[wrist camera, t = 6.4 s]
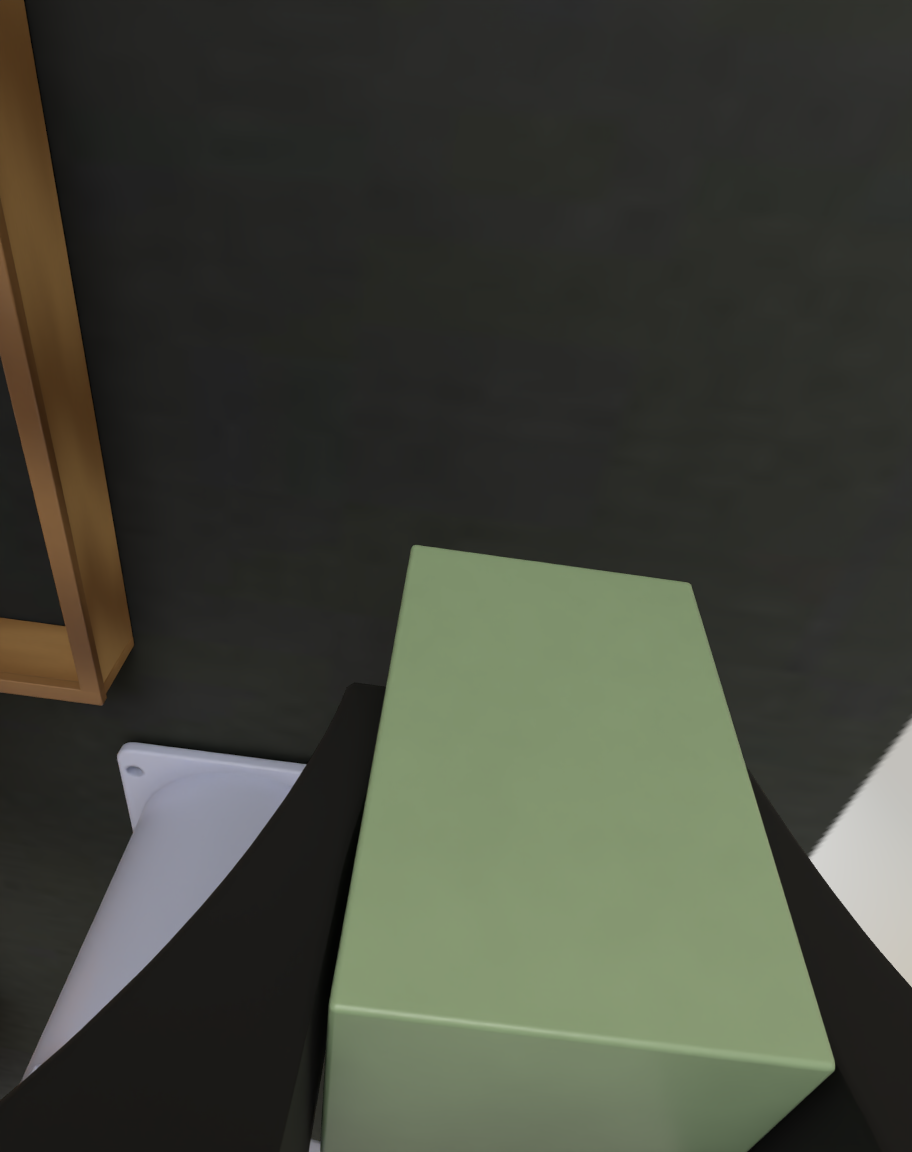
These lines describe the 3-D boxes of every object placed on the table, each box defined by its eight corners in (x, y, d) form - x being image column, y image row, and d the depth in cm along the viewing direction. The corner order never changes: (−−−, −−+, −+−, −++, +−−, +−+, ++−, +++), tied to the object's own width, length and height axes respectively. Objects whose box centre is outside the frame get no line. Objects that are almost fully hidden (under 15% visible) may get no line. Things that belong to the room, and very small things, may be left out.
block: (619, 760, 15) (683, 1215, 9) (390, 731, 15) (317, 1175, 9) (691, 581, 12) (840, 1069, 7) (411, 542, 12) (326, 1008, 7)
